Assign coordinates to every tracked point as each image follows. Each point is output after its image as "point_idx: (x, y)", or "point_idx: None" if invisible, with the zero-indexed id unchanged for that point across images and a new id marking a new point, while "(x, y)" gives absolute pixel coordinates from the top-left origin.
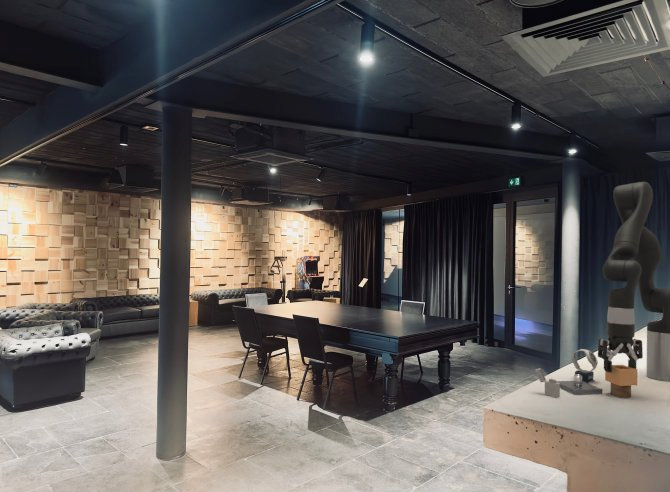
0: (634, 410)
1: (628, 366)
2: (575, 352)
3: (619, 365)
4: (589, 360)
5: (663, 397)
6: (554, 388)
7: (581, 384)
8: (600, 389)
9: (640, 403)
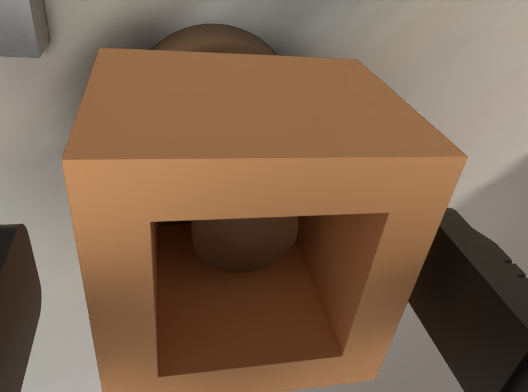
0: (54, 361)
1: (452, 246)
2: None
3: (358, 203)
4: None
5: (482, 181)
6: None
7: None
8: (13, 54)
9: None
